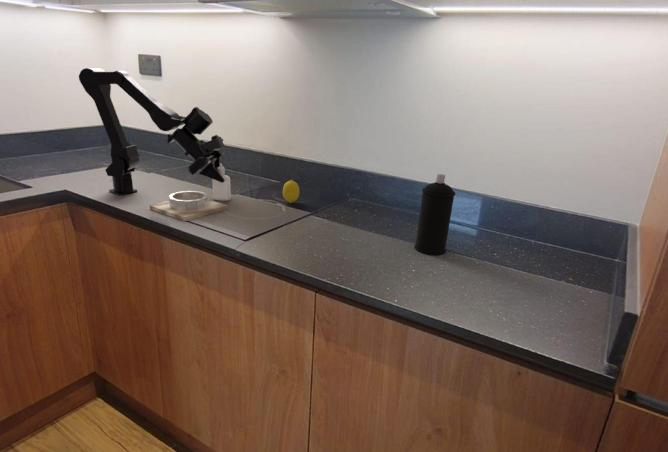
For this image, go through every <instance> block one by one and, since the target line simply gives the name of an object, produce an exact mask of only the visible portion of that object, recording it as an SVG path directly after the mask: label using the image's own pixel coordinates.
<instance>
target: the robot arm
mask: <svg viewBox="0 0 668 452" xmlns="http://www.w3.org/2000/svg"><path fill="white" fill-rule="evenodd" d="M78 79H79V83H80V84H81V86H82V88H83V89H84V91H85V92H86V93H87V95H88V96H89V97H90V98H92V100H93V102H94V104H95V107H96V110H97V112H98V114H99V117H100V119H101V123H102V125H103V127H104V130H105V133H106V135H107V137H108V141H109V142H110V154H109V155H110V159H111V163H110V164H109V165H108V166H107V168H106V169H105V170H104V171H105V172H106V175H107V176H108V177H111V180H112V186H113V187H112V188H111V189H109V190H108V192H111V193H113V194H116V195H118V196H120V195H126V194H131V193H132V194H133V193H135V192H138V189H136V188H134V185H133V178H132V177H133V176H132V173H134V172H135V170H136V167H137V166H139V164H140V157H141V155H140V154H139V152H138V148H137V145H136V144H133V145H131V144H130V143H129V142H128V140H127V138H126V136H125V132H124V130H123V127H122V124H121V122H120V119H119V116H118V114H117V111H116V108H115V106H114V103H113V101H112V98H111V92H112V90H111V89H112V86H111V85H117V86H118V87H119V88H120V89H122V90H123V91H124V92H125V93H126V94H127V95H128V97H130V98H131V99H132V100H134V101H135V102H136V103H137V104H138V105H139V106H140V107H142V109H143V110H145V111H146V112H147V114H148V115H149V118H150V119H151V121H152V122H153V123H154V125H155V126H156V127H157V128H158V129H159V130H160V131H163V132H169V131H173V130H174V131H173V132H171V133H168V134H167V135H166V136H167V141H166V142H167V143H168V144H171V143H174V142H175V143H176V144H177V145H179V147H180V148H181V149H182V150H183V151H184V155H185V156H186V157H187V156H189V157H190V158H191V159H192V160H193V162H192V163H191V164H190V165H189V166H188V172H189V173H190V174H191V176H195V175H196V174H197V173H198V172H199V170H200V172H199V173H198V175H202V176H205V177H206V178H209V179H214V180H217V181H219V182H222V183H223V182H224V181H225V180H224V179H223V177H222V176H221V174H220V173H219V172H218V170H217V168H218V167H219V165H220V164H222V156H223V155H224V154H225V152H224V150H222V149H221V148H223V147H224V146H225V144H224V139H223V138H222V136H219V135H218V134H215V135H212V136H211V140H209V141H205V140H203V139H199V138H198V137H197V135H198V136H199V135H202V134H203V133H204V132H205V131H206V130H207V129H208V128H209V127H210V126H211V125H212V124H213V123H214V122H213V119H212V118H211V116H210V115H209V114H208V113H206V112H205V111H203V110H202V109H200V108H199V107H198V106H195V107H193V108H192V110H191V111H190V112H189V113H188V114H187V115H186V116H183V115H180V114H179V113H177V112H176V111H174V110H173V109H172V108H170V107H168V106H166V105H165V104H162V103H160V102H159V101H158V100H157V99H156V98H154V97H153V96H152V95H151V94H150V92H148V91H146V90H145V89H144V87H143V86H141V84H139V83H138V82H137V81H136V80H135V79H134V78H133V77H131V75H130V74H129V73H128V72H127V71H125V70H115V71H105V70H104V69H102V68H95V67H94V68H87V67H86V68H83V69H82V70H81V71H80V72H79V74H78ZM180 126H181V128H179V127H180ZM225 175H227V176H228V174H227V173H226V172H225Z"/></svg>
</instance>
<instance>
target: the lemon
mask: <svg viewBox="0 0 668 452" xmlns="http://www.w3.org/2000/svg"><path fill="white" fill-rule="evenodd" d="M282 196H283V198H284V200H285V201H287V202H288V203H289V204H292V203H294V202H295V201H297V200H298V199H299V197H300V187H299V184H298V183H297V182H296V181H294V180H293V179H290V180H287V182H285V183H284V185H283V188H282Z"/></svg>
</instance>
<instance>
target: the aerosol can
mask: <svg viewBox="0 0 668 452" xmlns="http://www.w3.org/2000/svg"><path fill="white" fill-rule="evenodd" d="M445 177H446V174H443V173H438V174H436V179H435V180H436V181H435V182H431V183H429V184H427V185H426V186H424V187H423V188H422V189H421V192H422V196H421V201H420V210H419V211H420V212H419V217H418V225H417V230H416V231H417V233H416V241H415V244H414V249H415V250H416V251H417V252H419V253H421V254H424V255H428V256H441V255H444V254H446V252H447V249H446V247H447V242H448V237H449V236H448V235H449V228H450V223H451V217H452V211H453V205H454V204H453V203H454V198H455V196H456V192H455V191H454V190H453V188H452V187H451V186H450V185H449V184H446V183H445V181H446V179H445Z"/></svg>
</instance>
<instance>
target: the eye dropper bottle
mask: <svg viewBox="0 0 668 452" xmlns="http://www.w3.org/2000/svg"><path fill="white" fill-rule="evenodd" d="M217 170H218V172H219V173H220V174H221V176H222V177H223V179H224V180H225V181H224V182H223V183H222V182H219V181H217V180H214V179H212V178H211V179H212V181H211V184H212V198H213V200H214V201H215V200H216V201H222V202H223V201H226V202H227V201H229V200H231V197H232V196H231V195H232V194H231V178H230V176H229V175H228V174H227V175H225V173H226V169H225V167H224V166H223V164H222V163H221V164H220V165H219V167H218V168H217Z"/></svg>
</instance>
